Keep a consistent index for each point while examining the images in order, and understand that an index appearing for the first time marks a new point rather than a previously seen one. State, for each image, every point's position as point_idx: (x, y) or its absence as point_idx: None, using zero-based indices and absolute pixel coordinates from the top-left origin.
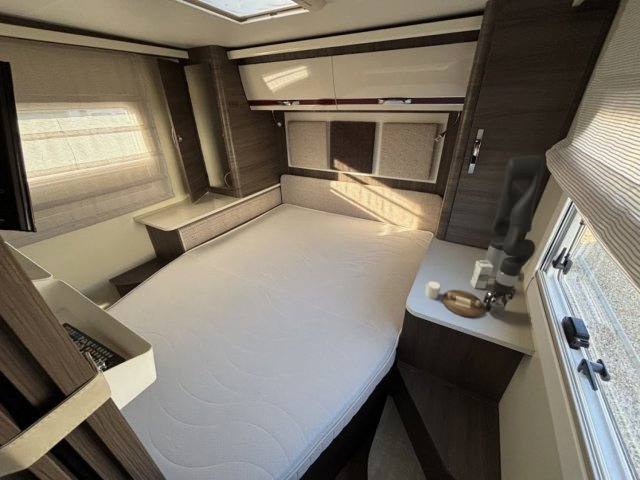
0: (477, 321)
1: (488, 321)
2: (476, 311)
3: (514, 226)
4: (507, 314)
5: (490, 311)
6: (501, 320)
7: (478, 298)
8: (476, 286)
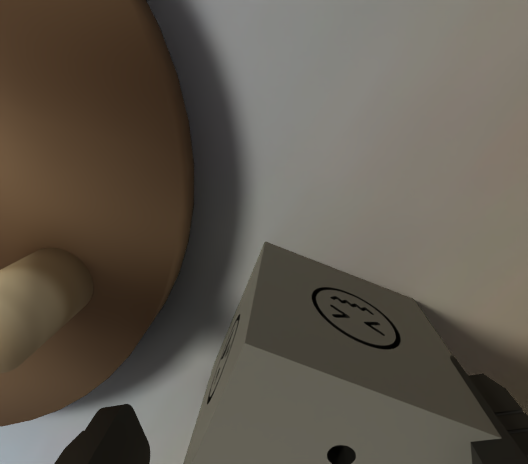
0: (22, 439)
1: None
2: (4, 380)
3: None
4: None
5: (204, 397)
6: None
7: (157, 90)
8: None
